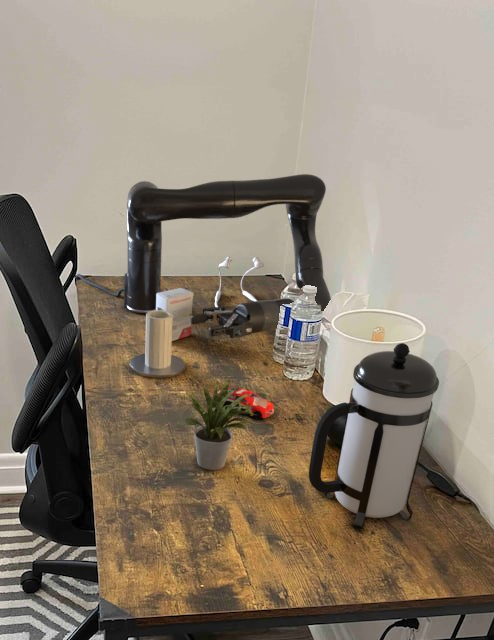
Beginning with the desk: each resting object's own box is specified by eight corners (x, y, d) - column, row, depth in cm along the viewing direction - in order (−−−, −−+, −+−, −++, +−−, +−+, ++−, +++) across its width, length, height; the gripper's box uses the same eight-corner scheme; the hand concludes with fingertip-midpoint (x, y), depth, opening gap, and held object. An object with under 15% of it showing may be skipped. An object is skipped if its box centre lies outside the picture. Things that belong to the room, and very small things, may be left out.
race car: (277, 413, 156) (280, 396, 153) (266, 423, 152) (268, 406, 149) (223, 396, 161) (224, 380, 159) (211, 405, 157) (212, 388, 155)
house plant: (191, 493, 129) (196, 409, 120) (155, 456, 139) (158, 376, 130) (259, 475, 134) (269, 394, 126) (220, 440, 145) (227, 364, 136)
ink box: (179, 330, 194) (181, 286, 187) (192, 336, 190) (194, 291, 184) (153, 337, 189) (154, 292, 182) (166, 343, 186) (167, 298, 179)
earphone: (252, 278, 221) (266, 252, 203) (255, 331, 219) (270, 309, 201) (207, 278, 220) (218, 252, 202) (210, 331, 217) (221, 310, 200)
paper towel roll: (140, 364, 172) (141, 315, 166) (154, 356, 177) (155, 308, 170) (161, 370, 170) (163, 321, 163) (175, 362, 174) (177, 313, 168)
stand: (118, 368, 172) (118, 327, 166) (149, 351, 181) (150, 311, 176) (165, 383, 166) (167, 341, 161) (195, 364, 175) (197, 324, 170)
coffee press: (334, 473, 136) (363, 317, 120) (421, 500, 129) (464, 339, 113) (299, 519, 123) (326, 352, 107) (393, 551, 116) (437, 378, 100)
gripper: (272, 341, 177) (214, 351, 170) (240, 321, 187) (184, 330, 181) (275, 311, 173) (216, 320, 166) (243, 293, 183) (186, 301, 177)
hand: (200, 325), depth 173 cm, fingers open, 8 cm apart
